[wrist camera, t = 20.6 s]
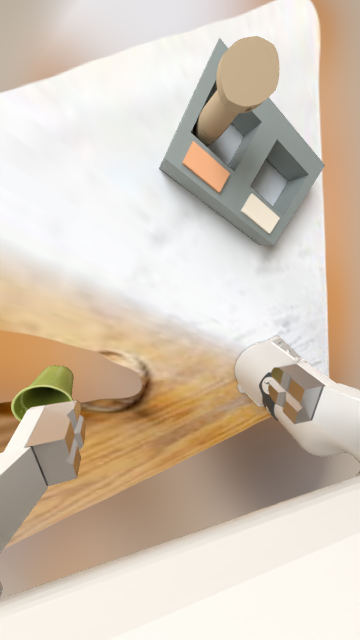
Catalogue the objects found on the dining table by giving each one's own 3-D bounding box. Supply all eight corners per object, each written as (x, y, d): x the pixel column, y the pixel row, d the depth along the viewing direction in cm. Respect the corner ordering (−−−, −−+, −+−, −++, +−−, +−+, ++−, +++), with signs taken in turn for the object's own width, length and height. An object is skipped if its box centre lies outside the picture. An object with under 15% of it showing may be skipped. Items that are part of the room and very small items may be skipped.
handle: (220, 151, 35) (280, 99, 22) (185, 159, 34) (224, 111, 21) (215, 114, 33) (278, 32, 19) (178, 122, 32) (217, 42, 19)
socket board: (302, 173, 40) (328, 164, 35) (258, 244, 43) (276, 245, 38) (205, 66, 30) (221, 33, 25) (159, 168, 34) (165, 156, 29)
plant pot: (60, 349, 41) (44, 376, 33) (91, 378, 45) (84, 408, 38) (21, 374, 41) (-3, 407, 33) (56, 401, 45) (42, 435, 38)
